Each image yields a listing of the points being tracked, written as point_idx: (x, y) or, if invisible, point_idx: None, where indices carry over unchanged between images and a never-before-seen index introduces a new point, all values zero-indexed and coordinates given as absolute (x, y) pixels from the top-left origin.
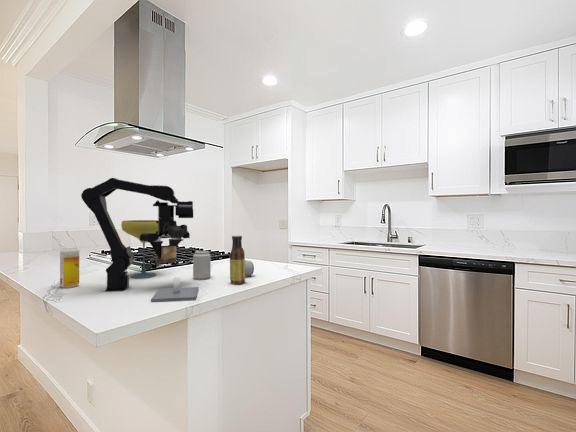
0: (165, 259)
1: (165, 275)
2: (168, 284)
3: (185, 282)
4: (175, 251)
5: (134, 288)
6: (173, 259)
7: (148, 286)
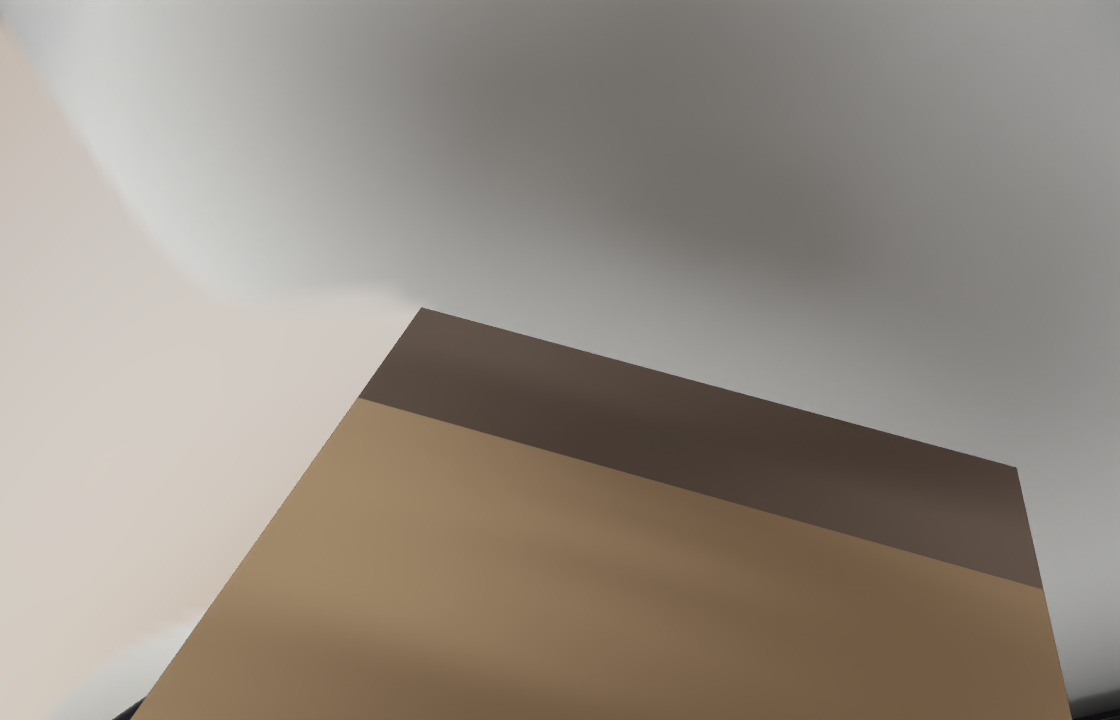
0: (980, 558)
1: (149, 659)
2: (573, 274)
3: (277, 64)
4: (259, 643)
5: (1057, 615)
6: (532, 402)
7: None
